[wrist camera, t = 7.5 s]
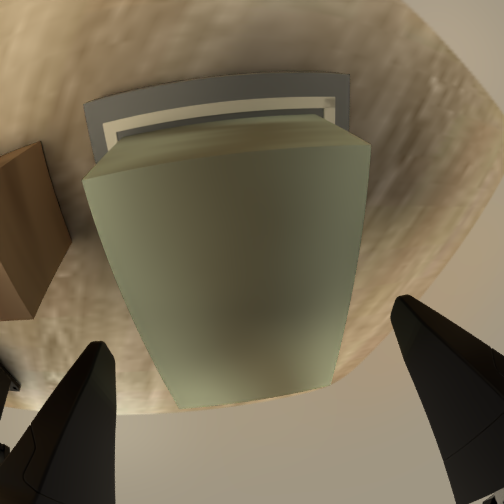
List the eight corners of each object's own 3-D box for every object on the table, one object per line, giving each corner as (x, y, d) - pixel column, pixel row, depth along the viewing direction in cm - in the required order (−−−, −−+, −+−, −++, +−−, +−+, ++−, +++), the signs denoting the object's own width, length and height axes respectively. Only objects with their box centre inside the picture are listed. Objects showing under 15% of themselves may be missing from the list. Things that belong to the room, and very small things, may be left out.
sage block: (179, 339, 15) (179, 408, 12) (122, 137, 9) (81, 180, 6) (306, 320, 15) (330, 385, 12) (314, 114, 10) (371, 144, 6)
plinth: (165, 337, 17) (164, 360, 16) (97, 98, 9) (82, 104, 8) (319, 315, 18) (327, 335, 16) (333, 72, 10) (351, 74, 9)
